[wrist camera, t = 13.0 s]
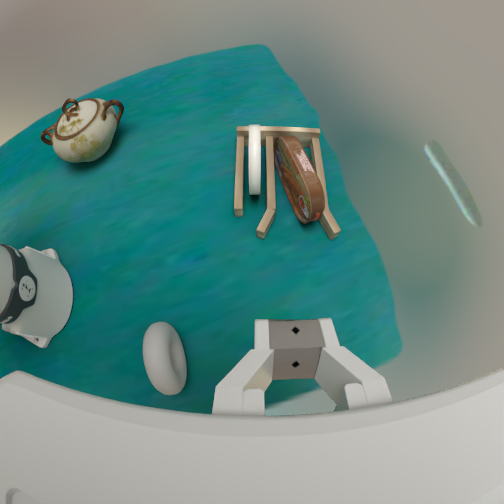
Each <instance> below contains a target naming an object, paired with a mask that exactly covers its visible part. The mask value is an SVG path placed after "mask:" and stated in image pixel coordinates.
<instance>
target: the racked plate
mask: <svg viewBox="0 0 504 504" xmlns="http://www.w3.org/2000/svg"><path fill="white" fill-rule="evenodd" d="M260 182H261V138H260V125H249V194H250V195H260Z"/></svg>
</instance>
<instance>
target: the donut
mask: <svg viewBox="0 0 504 504" xmlns="http://www.w3.org/2000/svg"><path fill="white" fill-rule="evenodd" d="M143 359H144V364H145V368H146V372H147V374H148V376H149V379H150V381H151V383H152V384H153V386H154V387H155V388H156V389H157V390H158V391H160V392H161V393H163V394H165V395H175V394H178V393H179V392H180V391H181V390H182V389H183V387H184V386H185V382H186V377H187V366H186V358H185V353H184V349H183V345H182V342H181V340H180V337H179V335H178V333H177V332H176V330H175V329H174V328H173V327H172V326H171V325H170V324H168V323H166V322H157V323H154V324H152V325H150V326H149V328H148V329H147V331H146V333H145V336H144V340H143Z"/></svg>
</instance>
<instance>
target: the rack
mask: <svg viewBox="0 0 504 504" xmlns="http://www.w3.org/2000/svg"><path fill="white" fill-rule="evenodd" d="M319 135H320V130H319V129H315V128H299V127H267V126H260V138H261V146H265V147H266V193H267V210H266V212H265V214H264V216H263V218H262V220H261V222H260V224H259V226H258V228H257V237H259V238H262V239H264V238H265V236H266V234H267V231H268V229H269V227H270V225H271V223H272V221H273V219H274V216H275V209H276V207H275V178H274V153H273V145H274V140H275V138H276V137H283V136H294V137H296V138H297V139H298V140H299V141H300V143H301V145H302V146H303V147H308V148H310V154H311V162H312V165H313V167H314V169H315V171H316V173H317V175H318V177H319V179H320V181H321V184H322V187H323V191H324V196H325V209H324V212H323V214H322V216H321V218H320V219H318V220H319V221H320V223H321V225H322V227H323V228H324V230H325V232H326V234H327V235H328V237H329V239H330V240H331V239H333V238H335V237H337V235H338V234H339V232H340V231H341V230H340V228H339V226H338V224H337V223H336V221H335V219H334V218H333V216H332V214H331V212H330V211H329V209H328V201H327V193H326V185H325V178H324V170H323V164H322V157H321V151H320V144H319ZM245 146H249V126H244V127H237V153H236V175H235V200H234V211H235V217H243V193H244V154H245Z"/></svg>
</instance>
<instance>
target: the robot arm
mask: <svg viewBox="0 0 504 504" xmlns="http://www.w3.org/2000/svg"><path fill="white" fill-rule="evenodd" d="M72 302H73V290H72V283H71V280H70V277H69V274H68V272H67V271H66V269H65V268H64V267H63V266H62V264H61V263H60V261H59V258H58V255H57V252H56V250H54V249H47V250H43V251H38V250H35V249H33V248H30V247H25V248H22V249H20V250H16V249H15V248H13V247H11V246H8V245H5V244H0V323H2V329H3V330H5V331H7V332H10V333H12V334H17V335H21V336H23V337H24V338H26V339H27V340H29V341H30V342H32V343H34V344H35V345H37V346H39V347H41V348H46V347H47V346H48V344H49V342H50V340H51V338H52V337H53V336H54V335H56V334H57V333H58V332H60V331H61V330H62V328H63V327H64V326H65V324H66V322H67V320H68V318H69V316H70V312H71V308H72ZM38 338H39V341H38ZM306 378H314V379H315V380H316V382H317V383H318V384H319V385H320V386H321V387H322V388H323V390H324V391H325V392H326V393H327V394H328V395H329V396H330V398H331V399H332V400H334V402H335V403H336V404H337V405H336V407H335V410H334V412H328V413H317V414H305V415H286V416H265V408H264V392H265V390H266V389H267V387H268V386H269V384H270V383H271V382H272V380H280V379H306ZM0 504H504V367H503V368H501V369H499V370H496V371H494V372H491V373H489V374H486V375H484V376H481V377H479V378H476V379H473V380H471V381H468V382H465V383H462V384H459V385H456V386H453V387H450V388H447V389H443V390H440V391H437V392H433V393H430V394H426V395H423V396H419V397H414V398H411V399H406V400H402V401H397V402H393V401H392V398H391V395H390V392H389V389H388V386H387V384H386V381H385V378H384V377H382V376H381V375H380V374H378V373H377V372H376V371H375V370H373V369H372V368H371V367H369V366H368V365H367V364H366V363H364V362H363V361H362V360H360V359H359V358H358V357H357V356H355V355H354V354H353V353H351V352H350V351H349V350H348V349H346V348H345V347H344V346H341V347H340V345H339V342H338V338H337V335H336V332H335V329H334V325H333V322H332V319H331V318H319V319H298V320H276V319H269V320H262V319H255V349H251V350H250V351H249V352H248V353H247V354H246V355H245V356H244V357H243V358H242V359H241V361H240V362H239V363H238V364H237V365H236V366H235V367H234V368H233V369H232V370H231V371H230V372H229V373H228V374H227V375H226V376H225V377H224V379H223V380H222V381H221V382H220V383H219V384H218V385H217V386H216V388H215V396H214V403H213V411H212V414H202V413H191V412H182V411H174V410H166V409H159V408H153V407H147V406H141V405H136V404H131V403H126V402H121V401H116V400H112V399H108V398H103V397H99V396H95V395H92V394H88V393H84V392H81V391H77V390H74V389H71V388H67V387H64V386H61V385H58V384H55V383H52V382H49V381H46V380H44V379H41V378H38V377H36V376H33V375H31V374H28V373H26V372H23V371H15V372H12V373H10V374H8V375H6V376H4V377H3V378H1V379H0Z"/></svg>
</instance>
